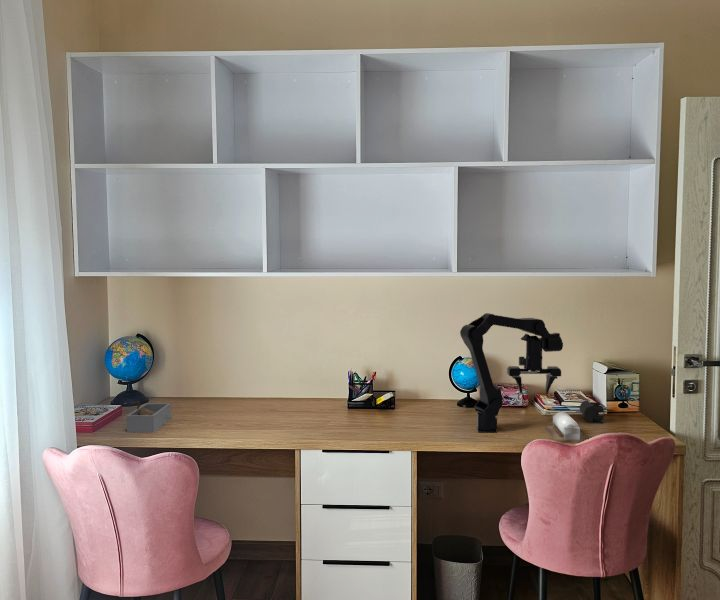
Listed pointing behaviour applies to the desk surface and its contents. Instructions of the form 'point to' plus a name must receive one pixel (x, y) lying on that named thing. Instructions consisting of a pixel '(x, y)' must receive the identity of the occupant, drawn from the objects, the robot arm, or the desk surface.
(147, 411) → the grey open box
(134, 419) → the box
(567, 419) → the paper roll
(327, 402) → the desk surface
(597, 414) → the end cap
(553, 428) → the roll holder
